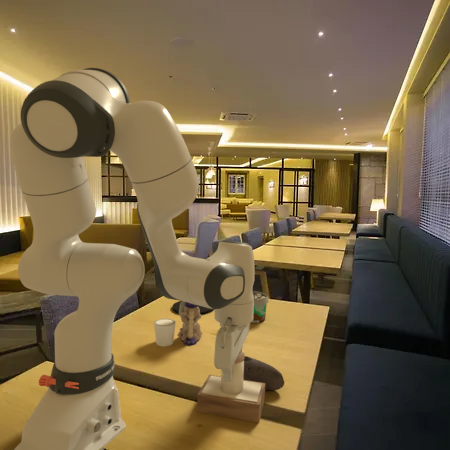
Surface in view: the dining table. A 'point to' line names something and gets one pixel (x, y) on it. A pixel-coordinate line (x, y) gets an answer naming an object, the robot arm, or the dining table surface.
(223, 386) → the cream canister
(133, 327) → the dining table surface
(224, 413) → the walnut plinth
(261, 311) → the food container
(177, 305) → the wireless charger
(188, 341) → the toy lamp
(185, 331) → the figurine
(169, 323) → the shot glass
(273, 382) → the brown oblong lump
